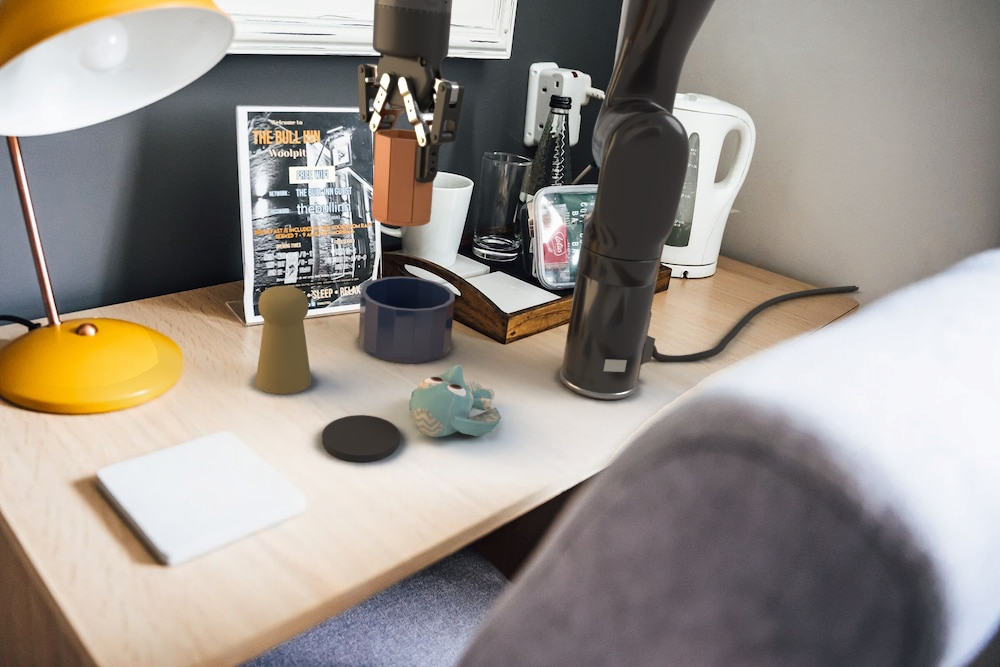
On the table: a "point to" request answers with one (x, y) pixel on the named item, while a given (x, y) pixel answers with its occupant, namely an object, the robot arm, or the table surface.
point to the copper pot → (399, 181)
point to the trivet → (360, 438)
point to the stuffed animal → (452, 405)
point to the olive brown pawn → (283, 341)
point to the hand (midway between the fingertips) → (403, 174)
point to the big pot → (406, 319)
